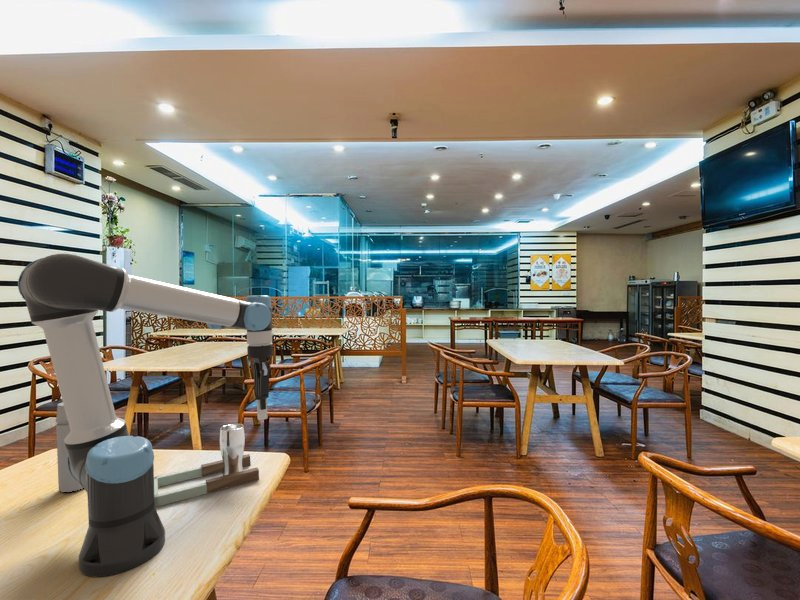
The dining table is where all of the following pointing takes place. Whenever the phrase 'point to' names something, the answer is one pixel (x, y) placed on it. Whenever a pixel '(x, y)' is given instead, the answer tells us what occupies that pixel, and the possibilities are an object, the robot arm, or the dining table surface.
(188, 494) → the pale green u-shaped frame
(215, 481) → the slot rails
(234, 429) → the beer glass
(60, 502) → the dining table surface
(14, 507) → the dining table surface
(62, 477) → the water bottle
